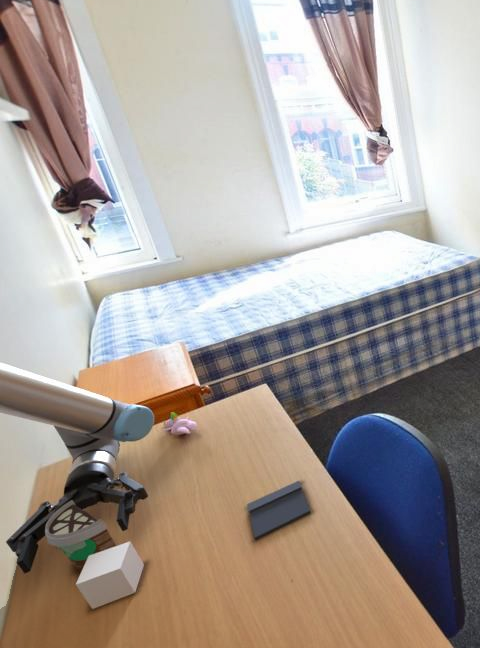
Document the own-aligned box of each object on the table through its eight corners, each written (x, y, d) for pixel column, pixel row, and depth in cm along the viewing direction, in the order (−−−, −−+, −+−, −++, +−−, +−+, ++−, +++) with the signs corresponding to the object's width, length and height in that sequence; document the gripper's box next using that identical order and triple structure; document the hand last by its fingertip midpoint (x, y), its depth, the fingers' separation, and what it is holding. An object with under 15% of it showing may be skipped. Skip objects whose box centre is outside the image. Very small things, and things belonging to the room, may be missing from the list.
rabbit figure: (160, 435, 123) (182, 444, 114) (149, 415, 122) (171, 424, 113) (185, 421, 128) (208, 430, 119) (176, 403, 126) (198, 410, 117)
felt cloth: (255, 540, 87) (253, 535, 87) (248, 507, 95) (247, 503, 94) (310, 512, 92) (309, 508, 92) (300, 483, 100) (298, 479, 99)
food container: (55, 563, 86) (28, 523, 82) (94, 537, 91) (70, 498, 87) (86, 588, 81) (59, 547, 77) (126, 559, 86) (102, 519, 82)
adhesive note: (135, 592, 79) (120, 568, 77) (92, 609, 77) (75, 584, 75) (144, 564, 84) (130, 540, 82) (104, 579, 82) (88, 555, 80)
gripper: (167, 464, 107) (166, 523, 90) (21, 521, 94) (-11, 601, 78) (154, 438, 104) (150, 494, 87) (2, 493, 91) (-36, 570, 75)
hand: (74, 545), depth 82 cm, fingers open, 13 cm apart
